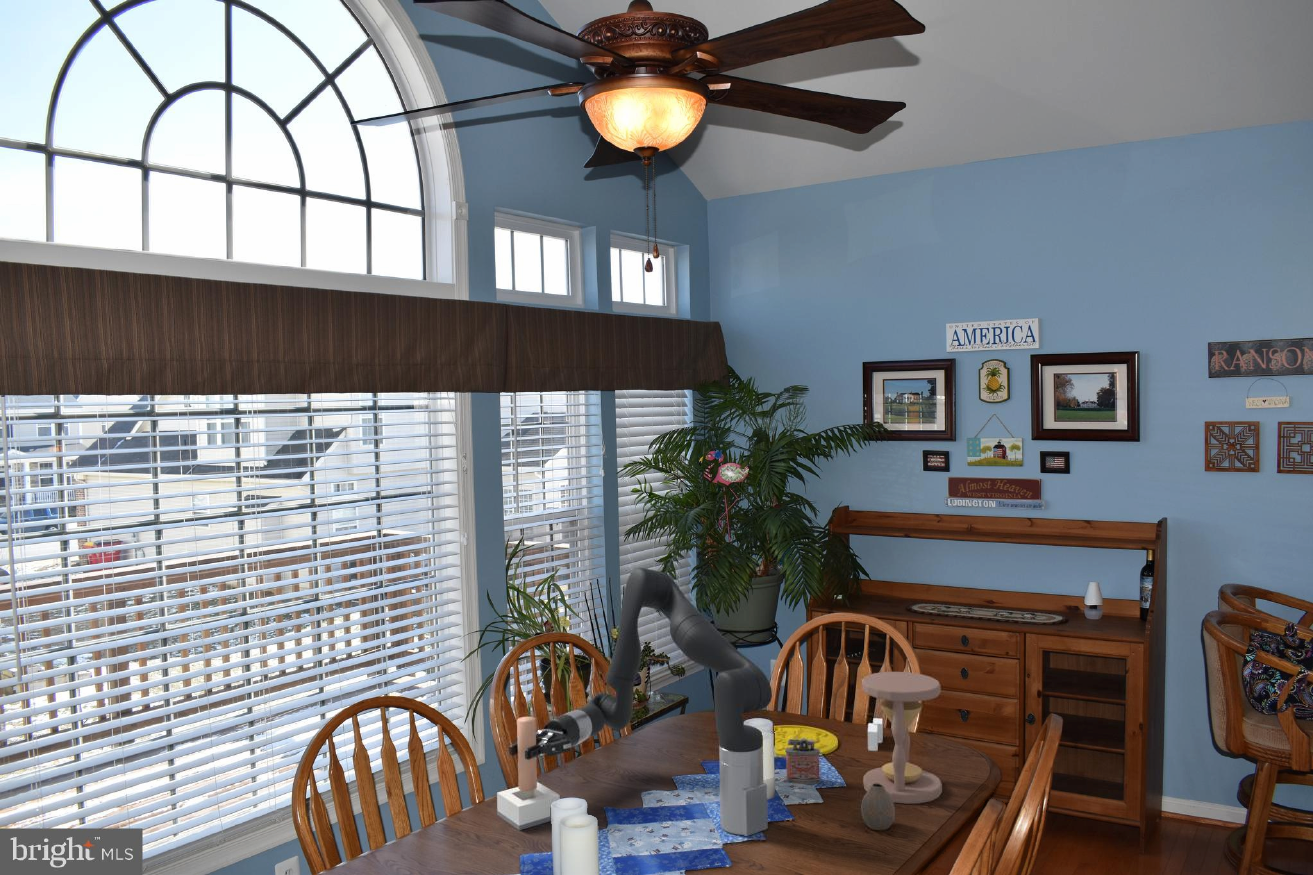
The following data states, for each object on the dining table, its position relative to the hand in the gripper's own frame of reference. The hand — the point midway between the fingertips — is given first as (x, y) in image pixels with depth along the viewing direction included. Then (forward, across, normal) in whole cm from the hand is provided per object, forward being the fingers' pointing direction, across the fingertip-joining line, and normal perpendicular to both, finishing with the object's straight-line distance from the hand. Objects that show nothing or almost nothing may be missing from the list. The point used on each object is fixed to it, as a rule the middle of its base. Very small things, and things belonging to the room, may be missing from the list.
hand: (518, 752), depth 207 cm
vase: (-37, +67, +15) cm, 78 cm away
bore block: (-3, 0, +15) cm, 15 cm away
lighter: (-52, +43, +15) cm, 69 cm away
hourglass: (-59, +64, +15) cm, 89 cm away
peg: (-3, 0, +8) cm, 9 cm away
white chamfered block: (-86, +48, +16) cm, 100 cm away
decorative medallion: (-75, +29, +16) cm, 82 cm away
